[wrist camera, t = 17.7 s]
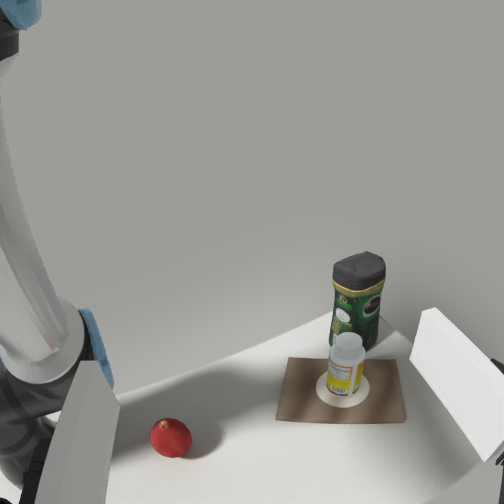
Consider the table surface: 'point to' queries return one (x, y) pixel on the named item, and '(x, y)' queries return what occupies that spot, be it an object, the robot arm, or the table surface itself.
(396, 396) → the brown flat board
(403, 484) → the table surface
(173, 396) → the table surface
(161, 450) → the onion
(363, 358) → the supplement bottle
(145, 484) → the table surface
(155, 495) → the table surface
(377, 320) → the coffee jar
